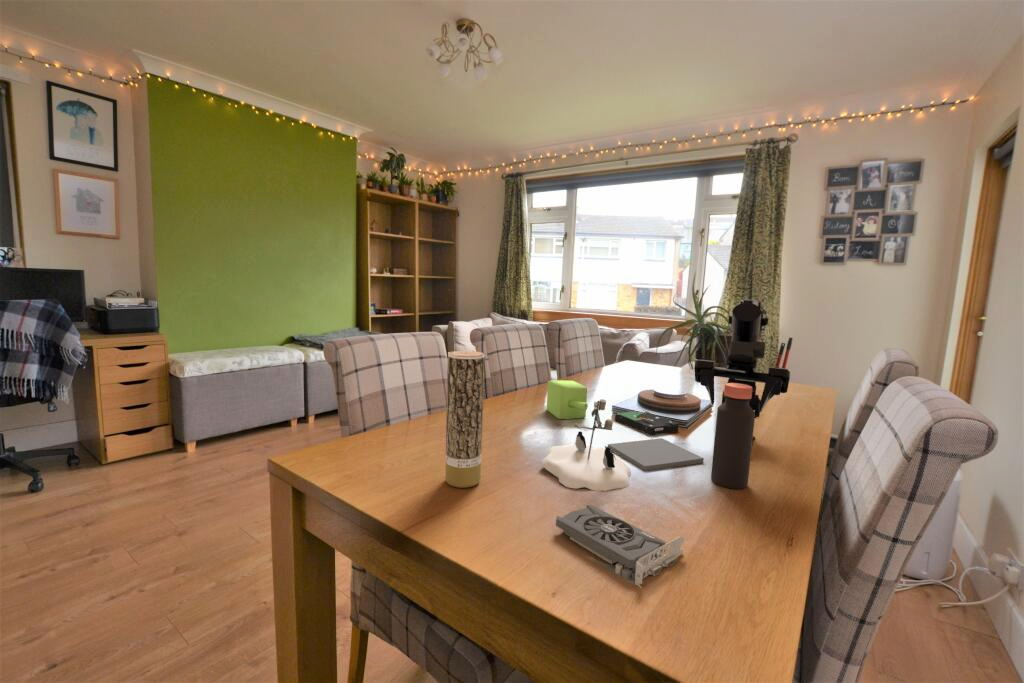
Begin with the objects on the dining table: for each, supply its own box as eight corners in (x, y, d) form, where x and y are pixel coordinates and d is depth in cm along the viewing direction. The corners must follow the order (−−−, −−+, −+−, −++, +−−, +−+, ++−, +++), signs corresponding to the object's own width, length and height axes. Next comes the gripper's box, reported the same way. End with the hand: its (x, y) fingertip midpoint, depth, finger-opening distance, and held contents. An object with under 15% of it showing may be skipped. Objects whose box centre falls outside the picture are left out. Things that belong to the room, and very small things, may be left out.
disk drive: (678, 433, 127) (640, 417, 140) (679, 423, 127) (641, 408, 140) (650, 437, 122) (613, 421, 135) (651, 427, 122) (614, 411, 135)
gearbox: (597, 423, 132) (599, 390, 131) (565, 424, 129) (567, 391, 128) (572, 406, 149) (574, 377, 148) (543, 407, 146) (544, 377, 145)
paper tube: (485, 477, 92) (489, 352, 89) (471, 492, 85) (475, 357, 82) (454, 472, 94) (457, 349, 91) (438, 485, 88) (441, 354, 85)
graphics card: (691, 537, 67) (641, 565, 59) (689, 562, 67) (639, 592, 60) (600, 495, 80) (549, 513, 72) (598, 516, 80) (548, 536, 73)
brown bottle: (745, 493, 89) (756, 391, 87) (708, 483, 93) (717, 385, 90) (749, 481, 95) (759, 385, 93) (713, 472, 99) (722, 380, 96)
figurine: (530, 451, 105) (536, 382, 101) (604, 448, 109) (613, 382, 106) (560, 500, 86) (569, 417, 82) (648, 494, 91) (661, 415, 87)
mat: (661, 442, 117) (661, 438, 117) (703, 462, 104) (703, 458, 104) (607, 448, 111) (607, 444, 111) (644, 470, 98) (645, 466, 98)
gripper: (699, 324, 106) (687, 379, 98) (794, 331, 98) (790, 392, 89) (700, 355, 114) (690, 408, 106) (788, 363, 105) (784, 422, 97)
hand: (735, 407), depth 99 cm, fingers open, 9 cm apart
